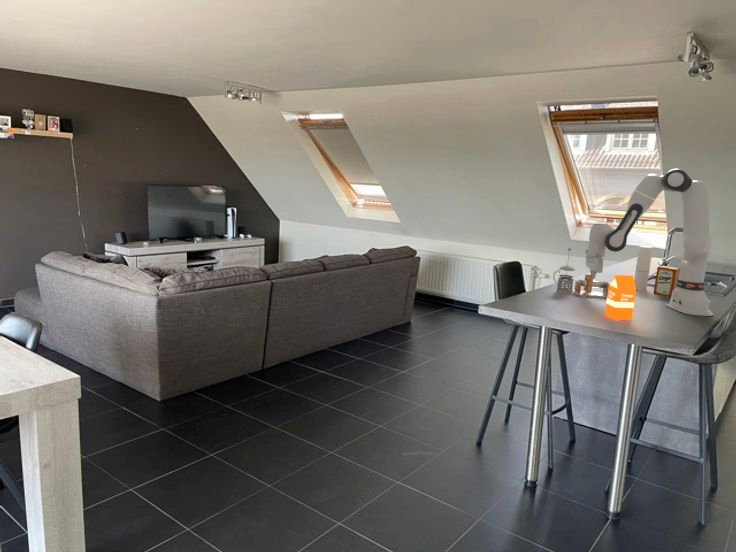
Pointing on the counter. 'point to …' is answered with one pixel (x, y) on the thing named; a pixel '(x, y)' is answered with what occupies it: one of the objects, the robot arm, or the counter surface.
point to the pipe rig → (595, 285)
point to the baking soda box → (666, 280)
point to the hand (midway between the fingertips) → (592, 278)
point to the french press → (565, 281)
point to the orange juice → (621, 298)
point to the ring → (590, 281)
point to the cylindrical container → (643, 267)
